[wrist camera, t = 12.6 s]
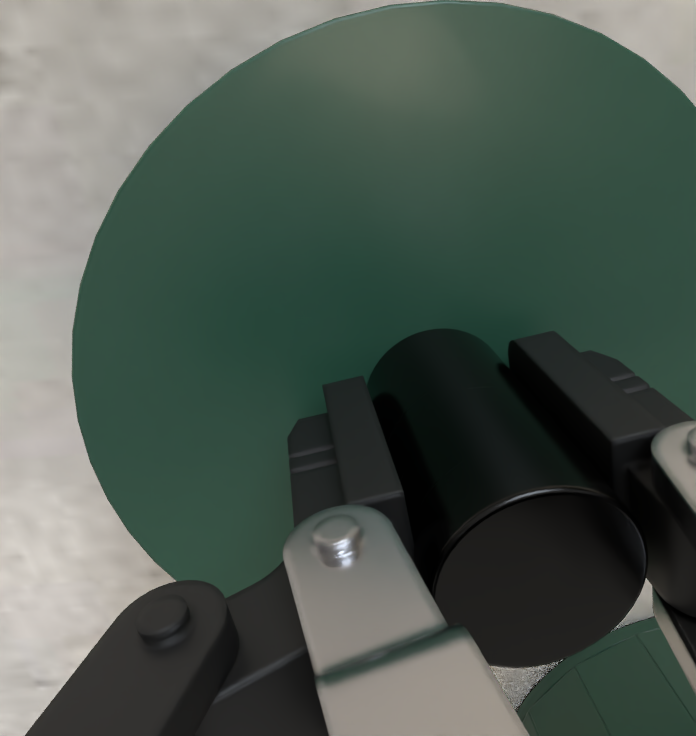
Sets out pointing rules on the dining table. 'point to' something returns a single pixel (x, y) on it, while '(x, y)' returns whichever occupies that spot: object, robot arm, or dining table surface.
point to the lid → (398, 302)
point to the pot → (615, 690)
